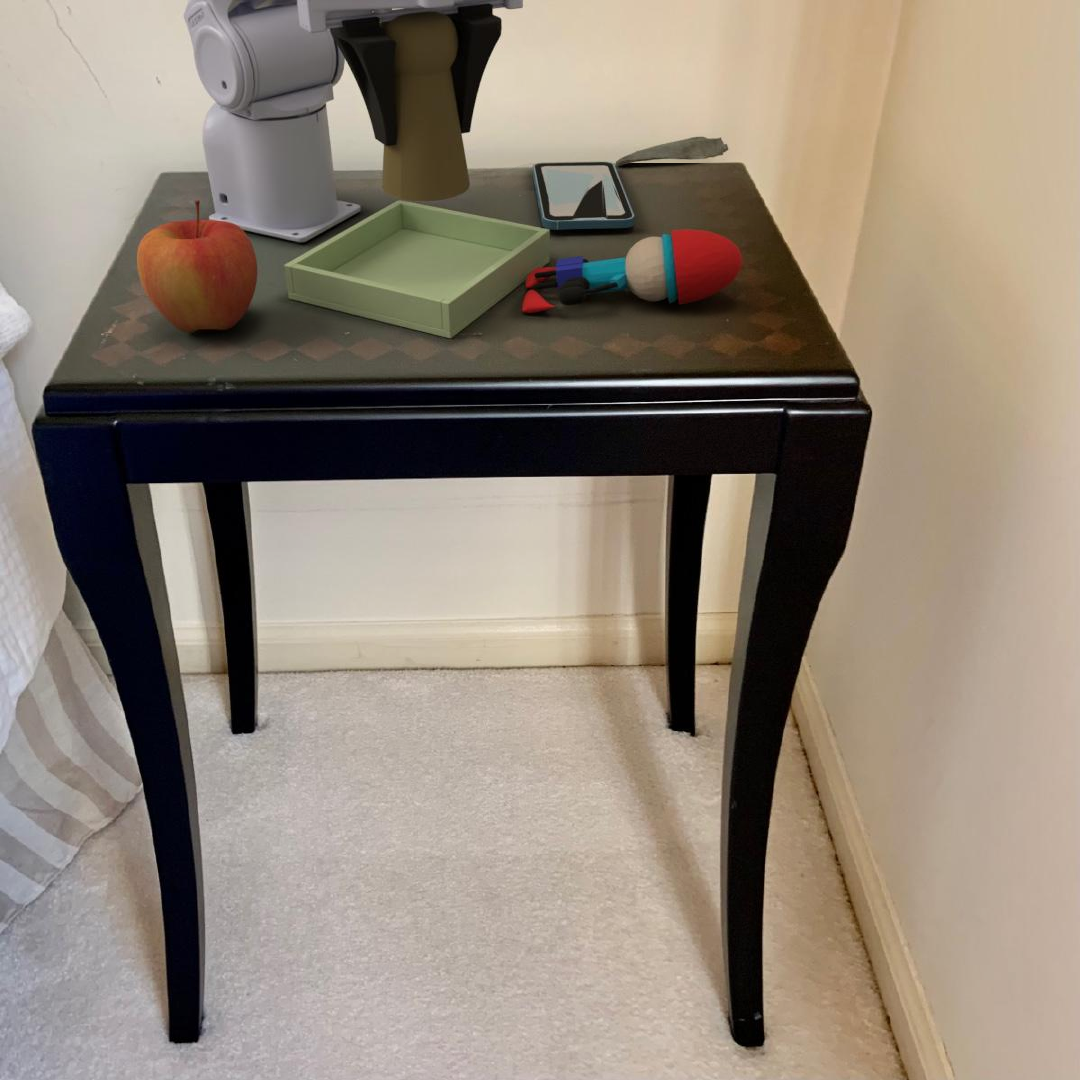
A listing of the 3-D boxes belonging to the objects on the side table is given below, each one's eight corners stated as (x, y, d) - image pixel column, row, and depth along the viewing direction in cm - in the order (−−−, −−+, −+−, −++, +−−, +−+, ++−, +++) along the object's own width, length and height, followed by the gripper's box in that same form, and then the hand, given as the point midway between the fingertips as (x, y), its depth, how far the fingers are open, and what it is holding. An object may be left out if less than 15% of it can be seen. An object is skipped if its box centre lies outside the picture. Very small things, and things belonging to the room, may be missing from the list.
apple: (136, 350, 70) (106, 229, 65) (174, 301, 76) (149, 187, 71) (248, 354, 70) (227, 232, 65) (278, 304, 75) (261, 189, 71)
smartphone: (614, 161, 97) (637, 219, 85) (613, 172, 98) (636, 231, 85) (531, 162, 97) (542, 221, 85) (531, 173, 97) (542, 233, 85)
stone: (623, 159, 96) (602, 140, 100) (623, 177, 97) (602, 157, 101) (736, 142, 99) (712, 124, 103) (735, 159, 100) (710, 140, 104)
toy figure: (525, 340, 74) (748, 312, 72) (512, 270, 72) (743, 238, 69) (534, 301, 81) (740, 274, 78) (523, 235, 78) (735, 205, 76)
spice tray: (288, 298, 76) (283, 264, 75) (401, 230, 86) (398, 199, 85) (450, 339, 71) (448, 303, 70) (549, 261, 81) (550, 229, 80)
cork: (433, 165, 79) (423, -3, 72) (488, 186, 75) (483, 12, 68) (364, 184, 75) (348, 11, 69) (418, 207, 72) (406, 27, 65)
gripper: (315, -80, 59) (342, 170, 68) (547, -98, 65) (546, 134, 73) (273, -96, 64) (303, 139, 72) (492, -112, 70) (496, 108, 78)
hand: (422, 135), depth 73 cm, fingers closed on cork, 5 cm apart
